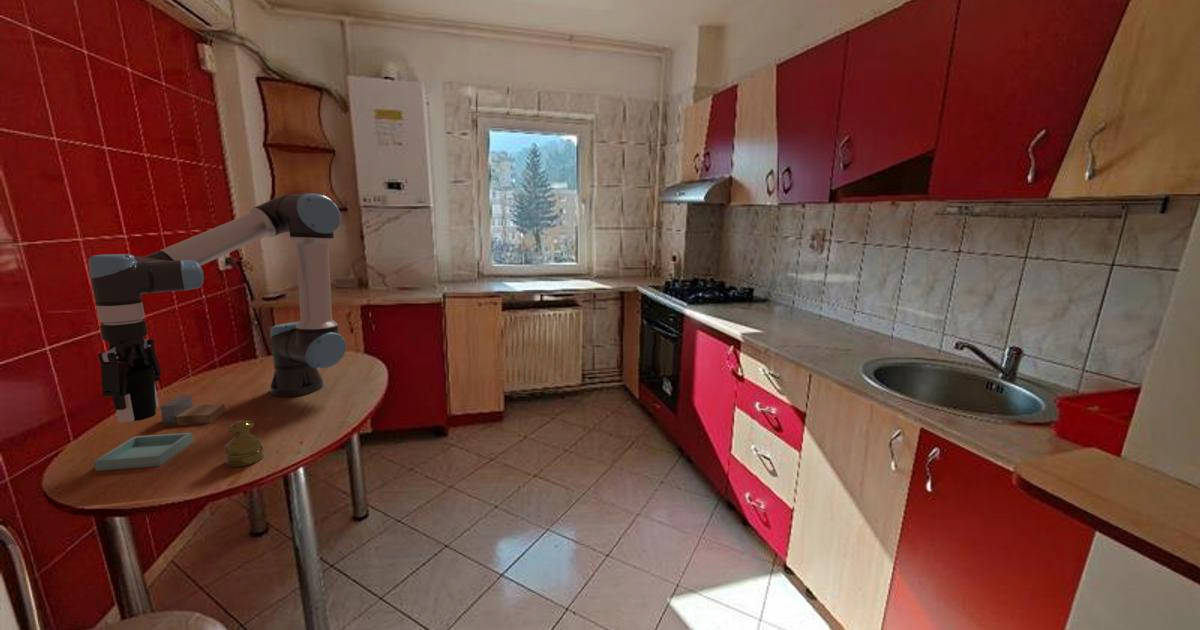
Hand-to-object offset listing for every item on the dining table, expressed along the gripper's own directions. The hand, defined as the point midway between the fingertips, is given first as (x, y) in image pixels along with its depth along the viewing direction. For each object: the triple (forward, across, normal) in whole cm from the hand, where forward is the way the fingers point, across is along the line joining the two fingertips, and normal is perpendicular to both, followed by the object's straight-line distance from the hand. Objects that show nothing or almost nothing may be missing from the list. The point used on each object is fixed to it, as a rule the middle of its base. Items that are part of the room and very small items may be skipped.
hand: (139, 414), depth 112 cm
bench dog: (+11, -22, -5) cm, 25 cm away
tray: (+11, 0, 0) cm, 11 cm away
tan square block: (+11, -22, 0) cm, 25 cm away
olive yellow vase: (+11, +7, +24) cm, 27 cm away
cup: (+1, 0, 0) cm, 1 cm away
